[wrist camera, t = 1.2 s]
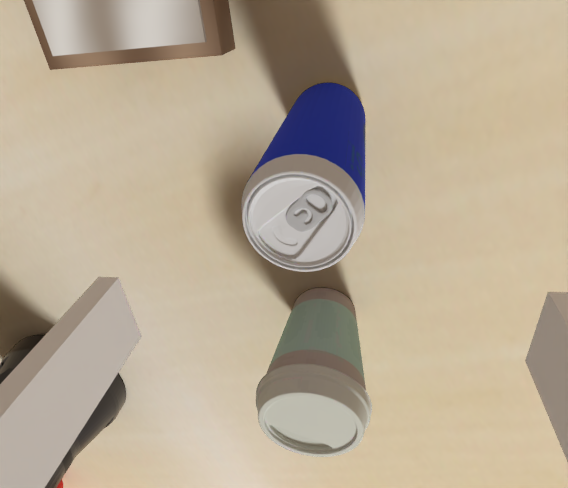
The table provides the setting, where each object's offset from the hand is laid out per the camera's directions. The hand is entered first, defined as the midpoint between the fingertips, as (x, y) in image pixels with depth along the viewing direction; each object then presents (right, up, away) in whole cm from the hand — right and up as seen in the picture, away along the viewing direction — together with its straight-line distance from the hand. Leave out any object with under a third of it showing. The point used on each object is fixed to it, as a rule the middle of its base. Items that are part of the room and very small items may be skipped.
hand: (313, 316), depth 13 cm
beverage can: (+2, +11, +16) cm, 19 cm away
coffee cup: (+3, -4, +25) cm, 26 cm away
